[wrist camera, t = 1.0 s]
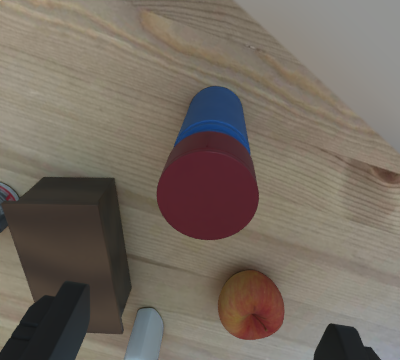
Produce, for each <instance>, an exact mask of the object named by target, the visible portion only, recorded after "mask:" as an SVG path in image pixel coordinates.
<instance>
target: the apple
mask: <svg viewBox="0 0 400 360" xmlns="http://www.w3.org/2000/svg"><path fill="white" fill-rule="evenodd" d="M218 312H219V317H220V320H221V323H222V325H223V326H224V328H225V329H226V330H227V331H228V332H229V333H231V334H232V335H233V336H235V337H237V338H240V339H245V340H255V339H261V338H265V337H268V336H270V335H272V334H273V333H275V332H276V331H277V330H278V329H279V328H280V327H281V325H282V323H283V320H284V303H283V299H282V296H281V293H280V291H279V290H278V288H277V287H276V285H275V284H274V283H273V282H272V281H271V280H270V279H269V278H268V277H267V276H266V275H264V274H262V273H260V272H258V271H255V270H247V271H242V272H239V273H237V274H235V275H233V276H232V277H231V278H230V279H229V280H228V281H227V282H226V283H225V285H224V286H223V288H222V290H221V293H220V296H219V300H218Z"/></svg>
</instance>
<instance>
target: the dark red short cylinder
mask: <svg viewBox="0 0 400 360" xmlns="http://www.w3.org/2000/svg"><path fill="white" fill-rule="evenodd" d="M258 201H259V192H258V186H257V181H256V176H255V170H254V165H253V161H252V158H251V156H250V154H249V152H248V151H247V149H246V148H245V147H244V146H243V145H242V144H241V143H240V142H239V141H238V140H236V139H235V138H233V137H231V136H229V135H227V134H224V133H220V132H214V131H205V132H198V133H195V134H192V135H190V136H188V137H186V138H184V139H183V140H181V141H180V142H179V143H178V144H177V145H176V146H175V147H174V148H173V150H172V151H171V153H170V155H169V157H168V160H167V162H166V165H165V167H164V169H163V172H162V174H161V177H160V179H159V182H158V186H157V202H158V206H159V209H160V211H161V213H162V215H163V216H164V218H165V219H166V221H167V222H168V223H169V224H170V225H171V226H172V227H173V228H175V229H176V230H177V231H179V232H181V233H182V234H184V235H187V236H189V237H192V238H196V239H201V240H217V239H222V238H226V237H229V236H232V235H234V234H235V233H237V232H239V231H240V230H242V229H243V228H244V227H245V226H246V225H247V224H248V223H249V222H250V221H251V219H252V218H253V216H254V214H255V212H256V210H257V206H258Z"/></svg>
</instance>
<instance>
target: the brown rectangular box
mask: <svg viewBox="0 0 400 360" xmlns="http://www.w3.org/2000/svg"><path fill="white" fill-rule="evenodd" d="M1 206H2V209H3V211H4V214H5V217H6V220H7V223H8V226H9V229H10V232H11V235H12V238H13V241H14V244H15V247H16V249H17V252H18V255H19V258H20V261H21V264H22V267H23V270H24V273H25V276H26V279H27V282H28V285H29V287H30V290H31V293H32V296H33V299H34V302H37V301H38V300H39V299H40V298H42V297H43V296H44V295H48V296H56V294H57V293H58V291H59V289H60V288H61V286H62V284H63V283H64V282H65V281H72V282H78V283H85V284H89V286H90V321H89V325H88V329H87V332H86V333H105V334H123V331H124V329H123V324H122V318H121V317H122V314H123V311H124V308H125V305H126V302H127V299H128V296H129V294H130V291H131V282H130V275H129V269H128V262H127V256H126V250H125V243H124V237H123V231H122V224H121V218H120V211H119V205H118V199H117V192H116V186H115V180H114V178H72V177H43V178H42V179H41V180H40V181H39V182H38V183H37V184H35V185H34V186H33V187H32V188H31V189H30V190H29V191H28V192H26V193H25V194H24V195H23V196H22V197H21V198H20V199H19V200H18V201H3V202H2V203H1Z"/></svg>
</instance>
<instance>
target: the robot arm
mask: <svg viewBox="0 0 400 360" xmlns="http://www.w3.org/2000/svg"><path fill="white" fill-rule="evenodd" d="M89 321H90V286H89V284H85V283H78V282H72V281H65V282H64V283H63V284H62V286H61V288H60V289H59V291H58V293H57V294H56V296H48V295H44V296H43V297H42V298H40V299H39V300H38V301H37V302H35V303H34V304H33V305H32V306H30V307H29V309H28V310H27V312H26V314H25V315H24V317H23V318H22V320H21V321H20V324H19V325H18V326H17V327H16V329H15V330H14V332H13V333H12V336H11V338H9V340H8V341H7V343H6V344H5V346H4V347H3V349H2V350H1V352H0V360H75V358H76V356H77V354H78V351H79V349H80V346H81V344H82V342H83V339H84V337H85V335H86V332H87V329H88V325H89ZM314 360H381V359H380V358H379V357H378V356H377V354H376V353H375V352H374V351H373V349H372V348H371V347H365V346H364V345H363V343H362V341H361V338H360V336H359V333H358V331H357V330H356V329H355V328H354V327H350V326H344V325H338V324H329V325H328V326H327V328H326V330H325V332H324V334H323V336H322V338H321V340H320V342H319V344H318V346H317V348H316V351H315V353H314Z"/></svg>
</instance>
